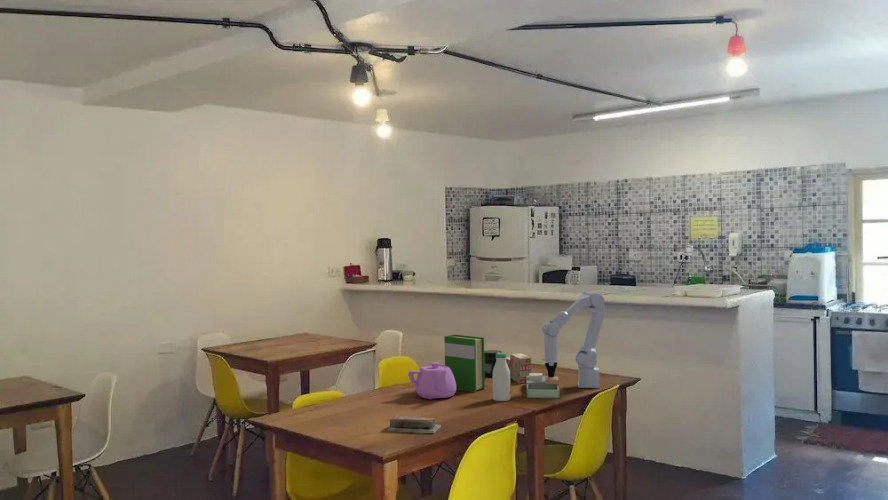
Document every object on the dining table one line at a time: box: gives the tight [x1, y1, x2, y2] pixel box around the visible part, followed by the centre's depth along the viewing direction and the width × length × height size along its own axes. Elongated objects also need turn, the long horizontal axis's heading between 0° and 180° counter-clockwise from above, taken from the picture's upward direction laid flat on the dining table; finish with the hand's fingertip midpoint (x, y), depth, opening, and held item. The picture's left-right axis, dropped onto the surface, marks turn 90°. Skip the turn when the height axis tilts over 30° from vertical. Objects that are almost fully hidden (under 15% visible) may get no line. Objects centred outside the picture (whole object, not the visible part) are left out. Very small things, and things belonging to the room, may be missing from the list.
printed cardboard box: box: [506, 352, 532, 384], centre depth 352 cm, size 21×6×12 cm, turn 16°
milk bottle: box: [492, 352, 512, 402], centre depth 309 cm, size 8×8×20 cm
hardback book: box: [443, 334, 486, 393], centre depth 332 cm, size 18×7×24 cm, turn 50°
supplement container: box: [484, 349, 503, 378], centre depth 362 cm, size 10×10×12 cm
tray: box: [526, 384, 560, 399], centre depth 317 cm, size 14×12×4 cm
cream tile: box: [529, 372, 543, 380], centre depth 332 cm, size 6×6×2 cm
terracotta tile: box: [545, 376, 560, 385], centre depth 323 cm, size 6×6×2 cm
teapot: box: [407, 361, 457, 400], centre depth 314 cm, size 23×21×15 cm
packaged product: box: [387, 415, 442, 434], centre depth 266 cm, size 18×5×10 cm
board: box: [525, 375, 560, 390], centre depth 330 cm, size 14×15×4 cm
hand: (551, 378), depth 327 cm, fingers closed
